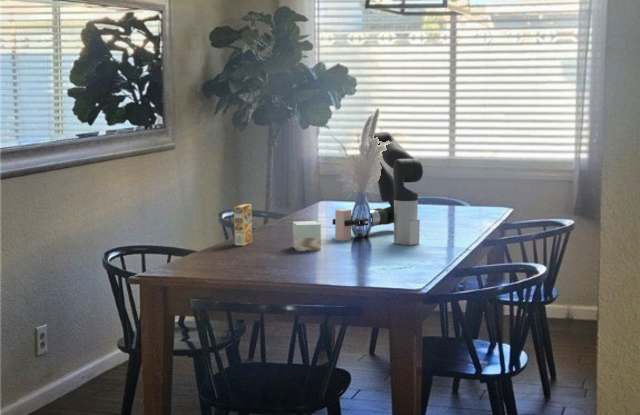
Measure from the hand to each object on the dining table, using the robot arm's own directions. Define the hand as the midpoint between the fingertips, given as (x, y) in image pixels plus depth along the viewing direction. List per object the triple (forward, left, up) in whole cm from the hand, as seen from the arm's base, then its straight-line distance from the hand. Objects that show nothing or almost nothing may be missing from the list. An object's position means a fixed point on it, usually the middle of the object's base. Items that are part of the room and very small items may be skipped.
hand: (339, 222), depth 382 cm
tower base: (-4, +23, -7) cm, 24 cm away
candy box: (+21, +33, -7) cm, 39 cm away
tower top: (-4, +23, -2) cm, 23 cm away
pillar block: (0, -2, -7) cm, 7 cm away
